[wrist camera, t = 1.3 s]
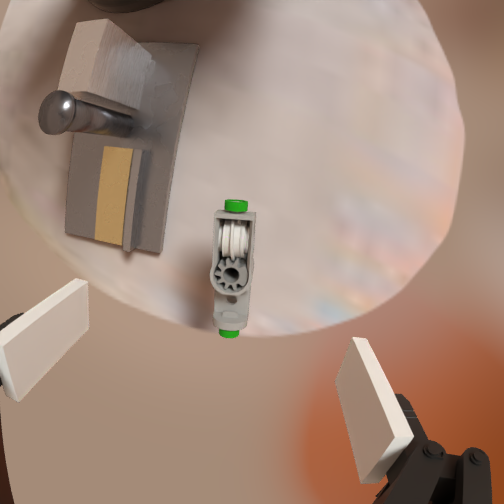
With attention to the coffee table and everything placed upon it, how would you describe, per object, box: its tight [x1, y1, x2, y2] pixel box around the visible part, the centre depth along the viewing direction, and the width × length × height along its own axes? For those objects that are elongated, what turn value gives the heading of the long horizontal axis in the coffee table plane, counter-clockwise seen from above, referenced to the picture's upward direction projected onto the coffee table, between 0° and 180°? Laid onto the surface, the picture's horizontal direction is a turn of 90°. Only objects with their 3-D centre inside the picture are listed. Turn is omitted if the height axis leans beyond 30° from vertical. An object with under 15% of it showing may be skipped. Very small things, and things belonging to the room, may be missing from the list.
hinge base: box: [38, 19, 199, 253], centre depth 23 cm, size 22×12×13 cm, turn 169°
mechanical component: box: [210, 200, 256, 338], centre depth 27 cm, size 3×10×10 cm, turn 176°
